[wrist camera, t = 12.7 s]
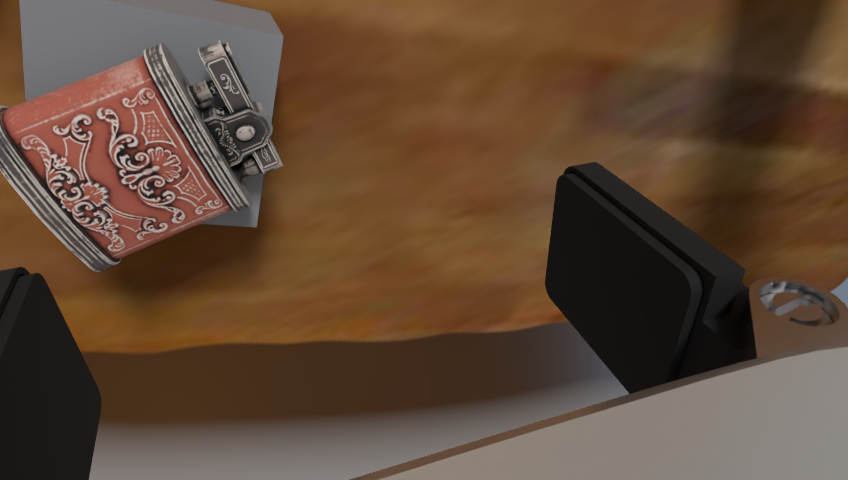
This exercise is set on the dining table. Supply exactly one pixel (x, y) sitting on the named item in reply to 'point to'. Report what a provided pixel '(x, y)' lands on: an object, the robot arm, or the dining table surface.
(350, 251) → the dining table surface
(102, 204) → the lighter
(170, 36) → the gray block
